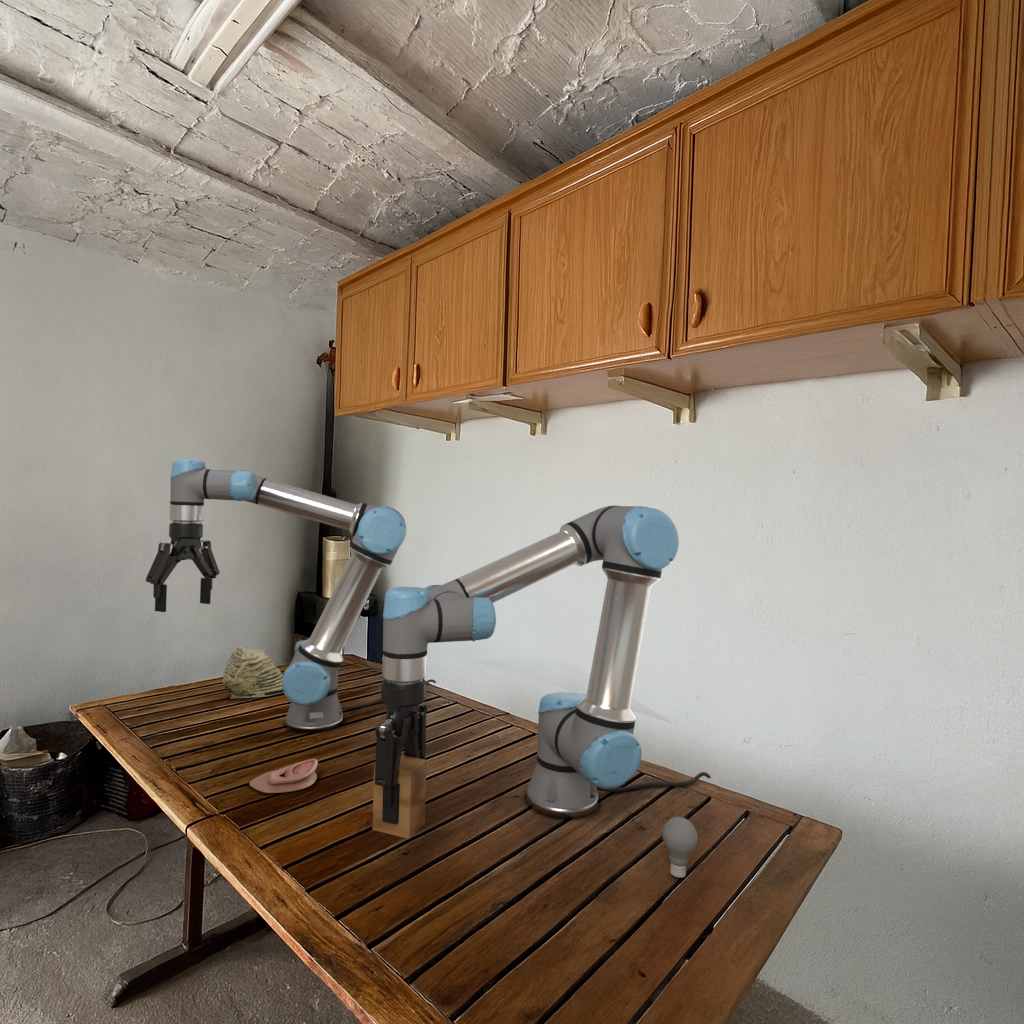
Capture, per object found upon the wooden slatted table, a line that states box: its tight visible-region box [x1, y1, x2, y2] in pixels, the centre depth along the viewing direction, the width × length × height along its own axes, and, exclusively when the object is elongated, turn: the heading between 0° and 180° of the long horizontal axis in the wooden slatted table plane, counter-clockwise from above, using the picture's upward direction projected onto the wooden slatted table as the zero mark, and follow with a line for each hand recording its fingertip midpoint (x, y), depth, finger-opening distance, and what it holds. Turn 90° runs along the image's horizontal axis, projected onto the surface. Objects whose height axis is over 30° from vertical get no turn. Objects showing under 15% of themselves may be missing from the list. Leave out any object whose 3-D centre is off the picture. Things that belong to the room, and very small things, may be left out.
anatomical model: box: [248, 758, 319, 794], centre depth 139 cm, size 13×4×12 cm
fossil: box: [222, 646, 284, 699], centre depth 198 cm, size 9×18×15 cm, turn 132°
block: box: [371, 754, 428, 840], centre depth 108 cm, size 6×7×11 cm
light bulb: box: [661, 816, 699, 879], centre depth 110 cm, size 6×6×10 cm
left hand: (183, 607), depth 158 cm, fingers open, 13 cm apart
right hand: (400, 813), depth 108 cm, fingers closed on block, 5 cm apart
